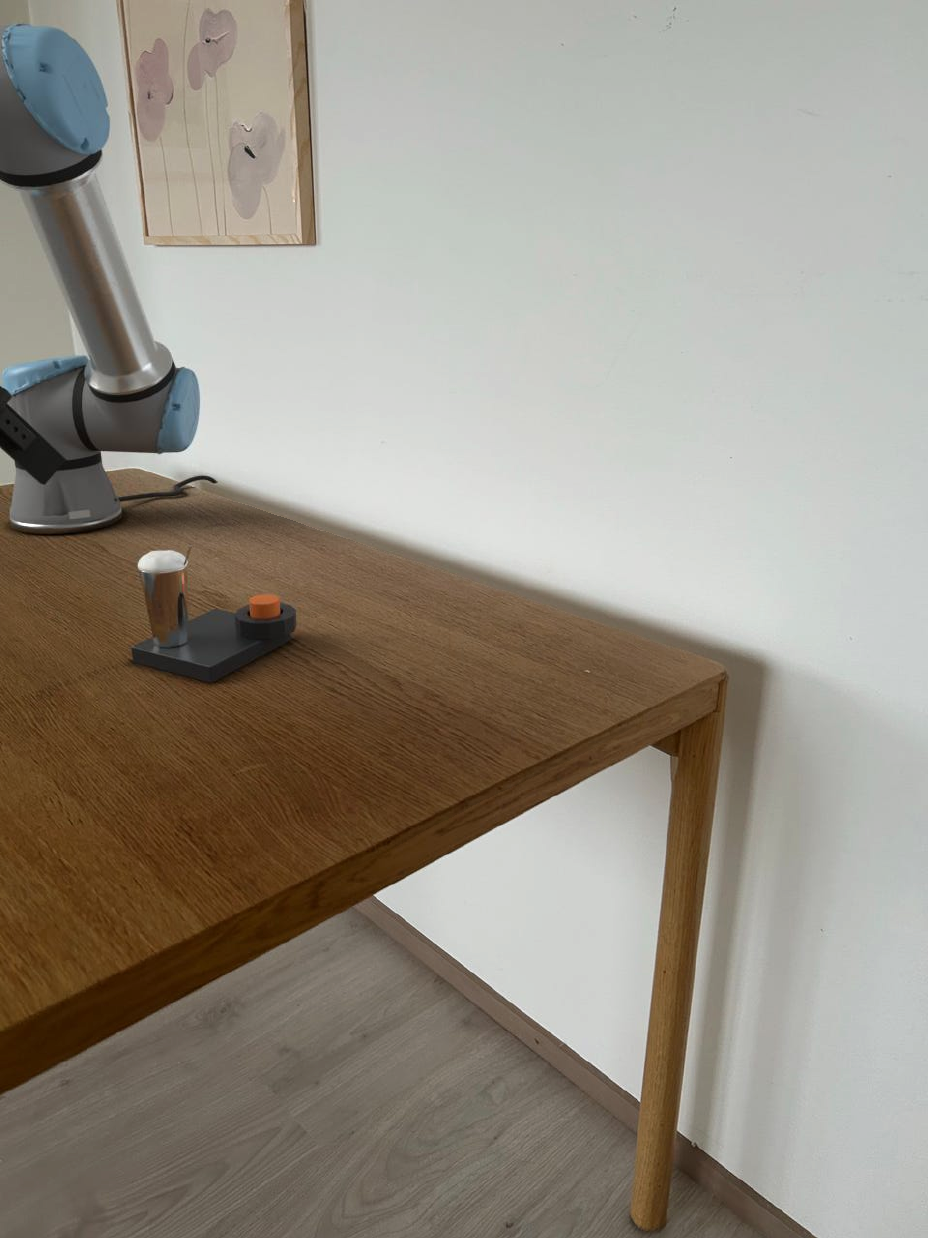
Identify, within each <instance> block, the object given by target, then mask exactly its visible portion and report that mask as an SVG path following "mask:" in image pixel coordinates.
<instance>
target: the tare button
mask: <svg viewBox="0 0 928 1238" xmlns="http://www.w3.org/2000/svg"><path fill="white" fill-rule="evenodd" d="M280 603H281V600H280V597H279V596H278V595H275V594H271V593H270V594H267V593H264V594H257V595H254V596H252V597H250V598H249V599H248V605H249V606H250V616H251V617H253V618H257V619H268V618H273V617H277V616H279V615H280V614H281V613H280Z"/></svg>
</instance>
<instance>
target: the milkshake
mask: <svg viewBox="0 0 928 1238" xmlns="http://www.w3.org/2000/svg"><path fill="white" fill-rule="evenodd" d="M192 546H193V544H190V545H189V546H188V550H187V553H186V555H183V554H182V553H181V552H178V551H175V550H172V549H168V550H152V551H148V552H147V553H145V554H144V555H143V556H142V557H140V559H139V561H138V562H137V569H138V573H139V574H138V575H139V578H140V582H141V586H142V590H143V596H144V600H145V605H146V610H147V615H148V620H149V621H148V622H149V624H150V630H151V634H152V635H151V636H152V637H153V640H154V644H156V645H157V646H159V647H166V648H171V647H177V646H181V645H183V644H185V643H187V641H188V639H189V625H188V621H189V597H188V596H189V592H188V591H189V590H188V589H189V588H188V587H189V586H188V585H189V582H188V579H189V573H188V572H189V569H188V568H189V565H188V564H189V560H188V559H189V556H190V553H191V551H192Z"/></svg>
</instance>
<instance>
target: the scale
mask: <svg viewBox="0 0 928 1238" xmlns="http://www.w3.org/2000/svg"><path fill="white" fill-rule="evenodd" d="M280 613H281V614H280V615H279V616H277V617H273V618H268V619H257V618H253V617H251V616H250V606H249V604H247V605H245V606H243V607H240V608H238V609H237V610H236V612H234V611H233V612H232V611H227V610H223V609H219V608H214V609H212V610H209V611H207V612H205V613H202V614H200V615H199V616H196V617H194V618H192V619H190V620H189V619H188V625H189V639H188V641H187V643H185V644H183V645H181V646H177V647H171V648H166V647H159V646H157V645H156V644H154V640H153V636H151V637H149V638H148V639H145V640H143V641H141V642H138V643H136V644H134V645H131V647H130V650H131V657H132V663H135V664H137V665H141V666H144V667H149V668H152V669H153V668H154V669H156V670H160V671H164V672H167V673H171V674H176V675H179V676H183V677H187V678H191V679H195V680H197V681H198V680H199V681H201V682H206V683H209V684H213V683H215V682H217V681H218V680H220V679H222V678H224V677H226V676H228V675H229V674H231V673H233V672H235V671H237V670H239V669H241V668H243V667H244V666H246V665H247V664H250V663H252V662H253V661H256V660H257V659H259V658H261V657H263V656H264V655H266V654H268V653H270V652H272V651H274V650H276V649H278V648H280V647H281V646H283V645H285V644H288V642H290V641H292V633H294V632H295V630H296V628H297V626H298V625H297V610H296V608H295V607H294V606H292V605H291V604H288V603H283V602H280Z"/></svg>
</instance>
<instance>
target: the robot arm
mask: <svg viewBox="0 0 928 1238" xmlns="http://www.w3.org/2000/svg"><path fill="white" fill-rule="evenodd" d="M107 98H108V97H107V95H106V91H105V88H104V84H103V82H102V79H101V78H100V75H99V72H98V71H97V68H96V66H95V65H94V63H93V60H92V59H91V58H90V56H89V54H88V53H87V51H86V50H85V49H84V48H83V46H82V45H81V44H80V43H79V42H78V40H76V38H73V37H72V36H71V35H69V34H68V33H67V32H66V31H64V30H62V29H60V28H57V27H55V26H45V25H44V26H43V25H42V26H41V25H31V24H28V23H24V22H21V23H19V22H18V23H17V22H15V23H13V24H0V182H1V184H3V185H5V186H7V187H9V188H10V189H13V190H16V191H17V192H18V193H19V194H20V197H21V201H22V202H23V205H24V207H25V209H26V211H27V214H28V217H29V219H30V222H31V224H32V227H33V228H34V231H35V233H36V236H37V238H38V240H39V243H40V244H41V247H42V249H43V252H44V254H45V257H46V259H47V261H48V264H49V266H50V268H51V270H52V273H53V276H54V277H55V280H56V283H57V284H58V287H59V290H60V293H61V295H62V297H63V299H64V301H65V304H66V307H67V308H68V311H69V313H70V315H71V318H72V320H73V323H74V325H75V328H76V330H77V333H78V335H79V337H80V339H81V342H82V344H83V346H84V348H85V351H86V354H87V355H85V354H82V355H66V356H61V357H53V358H45V359H40V360H34V361H27V362H22V363H17V364H13V365H10V366H7V367H5V369H4V370H3V372H2V374H1V385H0V449H1V450H2V451H3V452H4V453H6V455H8V456H9V457H10V458H11V459H12V460H13V461H14V468H15V478H14V484H13V489H12V497H11V505H10V507H9V523H10V526H11V528H12V529H13V530H15V531H17V532H22V533H26V534H34V535H35V534H36V535H60V534H61V535H62V534H74V533H80V532H89V531H92V530H97V529H101V528H104V527H107V526H111V525H113V524H115V523H117V522H118V521H120V520H121V519H122V518H123V511H122V505H121V503H122V502H129V501H135V500H142V499H150V498H168V497H169V498H170V497H178V496H181V495H183V493H184V490H183V489H182V487H184V486H187V485H188V484H190V483H194V482H197V481H207V482H210V483H211V484H218V483H219V482H218V481H217V480H216V479H215V478H214V477H211V476H208V475H195V476H191V477H189V478H187V479H184V480H182V481H180V482H178V483H176V484H174V485H173V491H160V492H159V491H158V492H147V493H139V494H132V495H124V496H117V495H116V491H115V489H114V487H113V485H112V482H111V480H110V478H109V476H108V474H107V472H106V470H105V468H104V464H103V457H102V452H114V453H138V454H140V453H141V454H157V455H162V454H164V453H165V454H166V453H168V454H169V453H171V454H172V453H182V452H185V451H186V450H187V449H188V448H189V447H190V446H191V445H192V443H193V442H194V439H195V436H196V434H197V430H198V425H199V421H200V413H201V411H200V410H201V391H200V384H199V380H198V377H197V375H196V373H195V372H194V370H192V369H191V368H187V367H185V366H181V367H176V364H175V362H174V358H173V355H172V352H171V351H170V350H169V348H168V347H167V346H166V345H164V344H163V343H161V342H159V341H157V340H155V339H154V336H153V333H152V329H151V327H150V324H149V321H148V319H147V316H146V312H145V310H144V307H143V304H142V302H141V299H140V296H139V292H138V290H137V286H136V284H135V282H134V279H133V276H132V273H131V270H130V268H129V264H128V261H127V259H126V256H125V254H124V250H123V248H122V244H121V241H120V239H119V236H118V234H117V231H116V228H115V224H114V222H113V219H112V216H111V213H110V211H109V208H108V205H107V202H106V199H105V196H104V194H103V190H102V188H101V185H100V182H99V180H98V176H97V174H96V172H97V170H98V168H99V166H100V164H101V163H102V161H103V158H104V153H103V148H105V146H106V145H107V142H108V141H109V138H110V137H109V136H110V130H111V117H110V115H109V113H108V110H107V108H108V107H109V103H108V99H107Z"/></svg>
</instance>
